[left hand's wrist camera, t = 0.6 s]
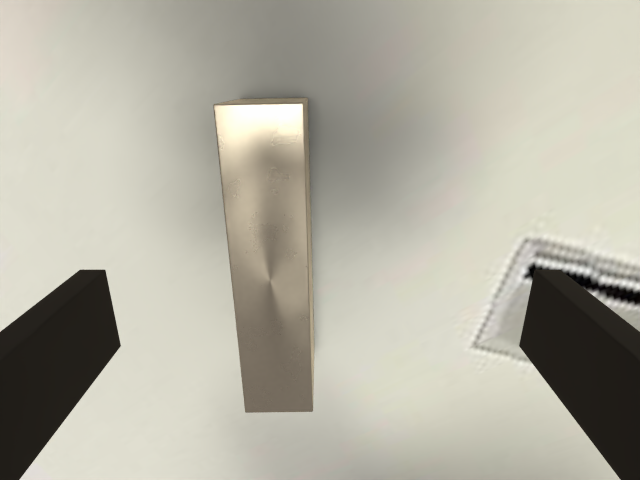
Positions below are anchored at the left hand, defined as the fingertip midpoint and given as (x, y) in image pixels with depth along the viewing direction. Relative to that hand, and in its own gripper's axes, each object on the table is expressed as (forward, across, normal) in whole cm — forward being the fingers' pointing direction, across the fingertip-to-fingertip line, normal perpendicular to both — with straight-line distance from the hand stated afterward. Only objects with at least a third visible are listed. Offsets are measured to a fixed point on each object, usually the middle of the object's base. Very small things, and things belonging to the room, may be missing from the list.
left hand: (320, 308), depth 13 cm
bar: (+22, -3, -6) cm, 23 cm away
